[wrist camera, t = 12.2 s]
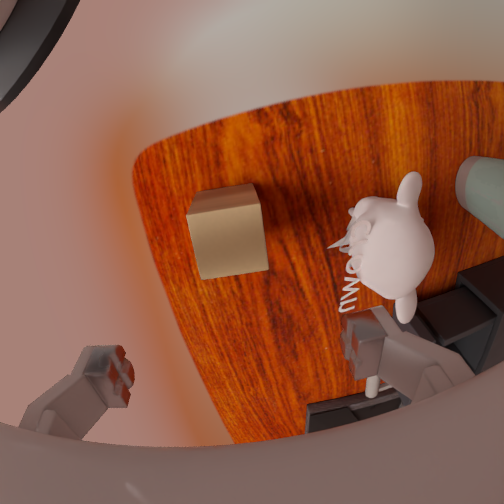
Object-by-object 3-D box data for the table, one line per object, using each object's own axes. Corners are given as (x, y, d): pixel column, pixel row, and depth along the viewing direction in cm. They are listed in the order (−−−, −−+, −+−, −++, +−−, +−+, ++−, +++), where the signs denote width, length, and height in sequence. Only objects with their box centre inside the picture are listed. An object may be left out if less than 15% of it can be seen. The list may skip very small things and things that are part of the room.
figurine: (387, 150, 24) (296, 173, 21) (466, 162, 17) (382, 191, 14) (392, 266, 29) (316, 307, 26) (455, 298, 22) (379, 359, 19)
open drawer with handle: (352, 379, 32) (370, 423, 26) (355, 313, 28) (382, 360, 22) (451, 344, 32) (476, 377, 26) (467, 278, 28) (503, 310, 21)
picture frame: (307, 404, 35) (301, 465, 44) (310, 416, 33) (303, 473, 42) (414, 377, 35) (383, 445, 44) (420, 387, 33) (386, 452, 42)
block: (196, 192, 23) (186, 215, 17) (252, 182, 23) (260, 203, 17) (206, 243, 25) (201, 280, 19) (259, 235, 25) (269, 269, 19)
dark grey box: (441, 345, 33) (472, 388, 25) (457, 272, 28) (503, 313, 20) (496, 319, 33) (527, 353, 25) (513, 251, 28) (555, 282, 20)
